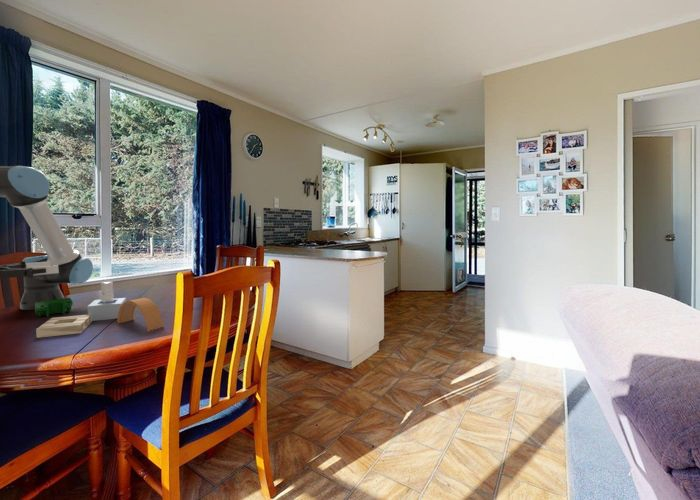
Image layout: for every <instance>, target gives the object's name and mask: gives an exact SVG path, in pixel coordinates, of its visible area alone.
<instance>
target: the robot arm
mask: <svg viewBox="0 0 700 500" xmlns="http://www.w3.org/2000/svg"><path fill="white" fill-rule="evenodd" d="M50 184H51V183H50V181H49V179H48V177H47V176H46V175H45V174H44V173H43V172H42V171H41V170H39V169H37V168H34V167H32V166H31V167H30V166H25V165H24V166H23V165H14V166H13V165H9V166H8V165H0V198H6V199H7V201H8V203H9V205H10V206H12V207H13V208H17V209H19V211H20V213H21V214H22V216H23V217H24V220H25V221H26V222H27V224H28V226H29V227H30V229H31V230H32V233H33V234H34V236H35V237H36V239H37V241H38V242H39V243H40V246H41V247H42V248H43V250H44V252H45V255H40V256H39V255H37V256H30V257H24V259H22V261H20V262H17V263H11V264H1V265H0V279H7V278H9V279H10V278H22V279H23V289H24V291H23V294H22V297H21V300H20V302H19V309H20V310H23V311H35V302H42V301H49V300H57V299H64V298H65V297H64V294H63V292H62V290H61V288H60V284H63V285H67V284H68V285H76V284H79V285H80V284H84V283H86V282H87V281H88V280H89V279H91V277H92V274H93V271H94V265H93V262H92V261H91V259H89V258H87V257H82V255H81V253H80V252H79V250H77V249H73V248H72V246H71V244H70V242H69V240H68V238H67V237H66V235H65V232H64V231H63V229H62V227H61V226H60V224H59V222H58V221H57V218H56V217H55V214H54V213H53V211H52V209H51V208H50V206H49V205H48V202H47V200H48V199H49V195H48V194H49V192H50V190H51V189H50V187H51V185H50Z"/></svg>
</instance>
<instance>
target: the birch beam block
mask: <svg viewBox="0 0 700 500" xmlns="http://www.w3.org/2000/svg"><path fill="white" fill-rule="evenodd" d="M92 322H93V321H92V314H90V315H88V314H80V315H70V316H58V317H57V316H56V317H51V318H50V319H48V320H47V321H45V322H44V323H42V324H41V325H40V326H38V327H37V328H35V330H36V331H35V333H36V339H38V338H47V337H55V336H56V337H58V336H65V335H66V336H68V335H74V334H82V333H83V332H84V331H85V330H86V329H87V328H88V327H89V326H90V324H92Z"/></svg>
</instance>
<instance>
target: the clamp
mask: <svg viewBox="0 0 700 500" xmlns="http://www.w3.org/2000/svg"><path fill="white" fill-rule="evenodd" d="M73 302H74V301H73V300H72V298H71V297H66V298H65V297H64V299H57V300H49V301H42V302H35V310H34V311H35V315H36V316H37V317H43V316H42V315H44V316H46V317H47V318H49V317H50V315H54V314H56V315H57V314H63V315H65V314H66V313H68V312H70V311H71V310H72V306H74V305H73V304H74V303H73ZM49 314H50V315H49Z"/></svg>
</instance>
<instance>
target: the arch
mask: <svg viewBox="0 0 700 500" xmlns="http://www.w3.org/2000/svg"><path fill="white" fill-rule="evenodd" d="M136 307H137V308H138V310H139V311H140V312H141V314H142V316H143V319H144V320H145V326H146V331H147V332H151V331H150V330H152V331H154V330H153V329H155V330H158V329H157V328H159V327H162V328H164V321H163V317H162V314H161V312H160V309H159V308H158V306H157V305H156V303H155V302H154V301H153V300H151V299H150V298H147V297H142V298H137V299H132V300H126V302H124V303H123V304H122V305H121V307H120V309H119V312H118V318H117V324H122V323H126V322H130V321H133V320H134V319H135V317H134V315H135V310H136ZM159 329H160V328H159Z"/></svg>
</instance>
